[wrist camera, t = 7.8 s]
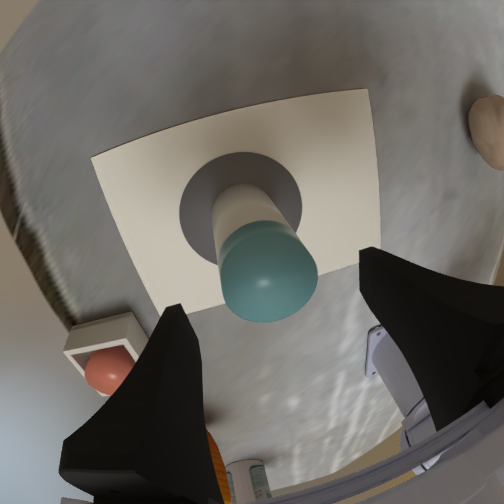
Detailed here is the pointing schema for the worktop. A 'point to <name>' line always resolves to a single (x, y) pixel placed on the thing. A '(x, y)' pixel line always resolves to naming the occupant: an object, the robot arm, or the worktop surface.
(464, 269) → the worktop surface
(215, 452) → the carrot
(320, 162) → the paper sheet
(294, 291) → the marker
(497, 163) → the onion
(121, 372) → the button
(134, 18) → the worktop surface
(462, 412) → the robot arm
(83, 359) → the button housing
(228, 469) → the spray can
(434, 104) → the worktop surface
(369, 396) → the worktop surface
